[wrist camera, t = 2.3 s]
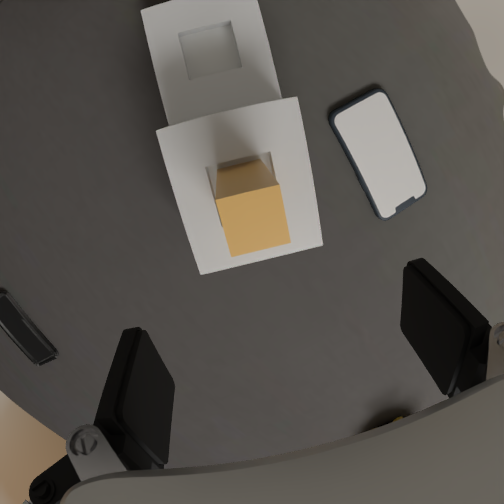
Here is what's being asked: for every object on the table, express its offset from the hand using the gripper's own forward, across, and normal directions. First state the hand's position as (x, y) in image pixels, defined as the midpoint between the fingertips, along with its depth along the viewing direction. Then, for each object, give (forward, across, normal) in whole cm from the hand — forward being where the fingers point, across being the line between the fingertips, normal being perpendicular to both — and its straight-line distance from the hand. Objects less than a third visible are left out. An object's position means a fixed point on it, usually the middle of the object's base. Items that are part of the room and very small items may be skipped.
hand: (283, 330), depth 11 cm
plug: (+20, 0, 0) cm, 20 cm away
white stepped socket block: (+28, 0, -7) cm, 29 cm away
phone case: (+29, -18, +2) cm, 34 cm away
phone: (+29, +43, +15) cm, 54 cm away
